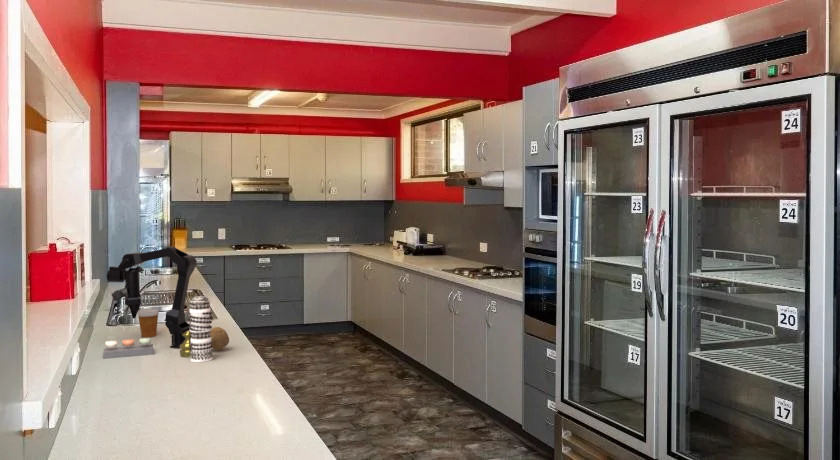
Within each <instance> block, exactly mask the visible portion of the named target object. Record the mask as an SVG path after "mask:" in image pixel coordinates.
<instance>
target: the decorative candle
mask: <svg viewBox="0 0 840 460" xmlns="http://www.w3.org/2000/svg"><path fill="white" fill-rule="evenodd" d="M210 301H211V299H209V298H208V297H207V296H206V295H197V296H193V297H192V298H191V299H190V300H189V301H188V302H189V313H188V314H187V316H188V321H189V322H188V324H189V325H190V327H189V329H190V330H189V331H190V332H191V343H190V345H191V347H190V349H192V350H191V351H190V353H191V356H190V357H189V358H190V361H191V362H193V363H205V362H209V361H212V360H213V359H214V357H213V352H214V351H213V350H214V349H213V348H212V345H211V344H212V341H211V330H212V328H213V325H211V324H212V323H213V321H212V319H213V317H212V316H211V315H212V314H213V312H212V311H211V303H210Z"/></svg>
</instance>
